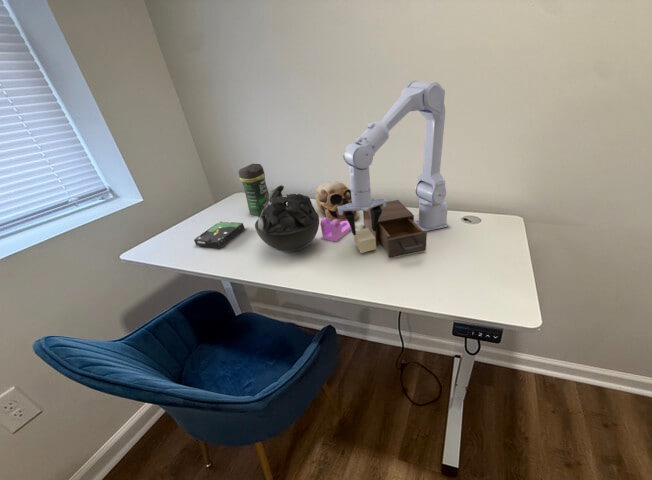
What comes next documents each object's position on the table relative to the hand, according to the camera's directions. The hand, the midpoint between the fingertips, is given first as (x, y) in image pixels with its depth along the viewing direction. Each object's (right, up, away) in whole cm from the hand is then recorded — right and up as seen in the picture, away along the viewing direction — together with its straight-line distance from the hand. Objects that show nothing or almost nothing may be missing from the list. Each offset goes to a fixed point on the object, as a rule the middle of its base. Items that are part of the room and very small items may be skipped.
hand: (364, 231), depth 100 cm
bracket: (-9, +2, +14) cm, 17 cm away
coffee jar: (-43, +14, +32) cm, 56 cm away
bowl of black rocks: (-24, -4, +7) cm, 25 cm away
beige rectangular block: (0, -4, +3) cm, 5 cm away
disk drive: (-52, +1, +15) cm, 54 cm away
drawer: (+12, -5, +1) cm, 13 cm away
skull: (-11, +12, +26) cm, 31 cm away
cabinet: (+8, +3, +13) cm, 15 cm away
